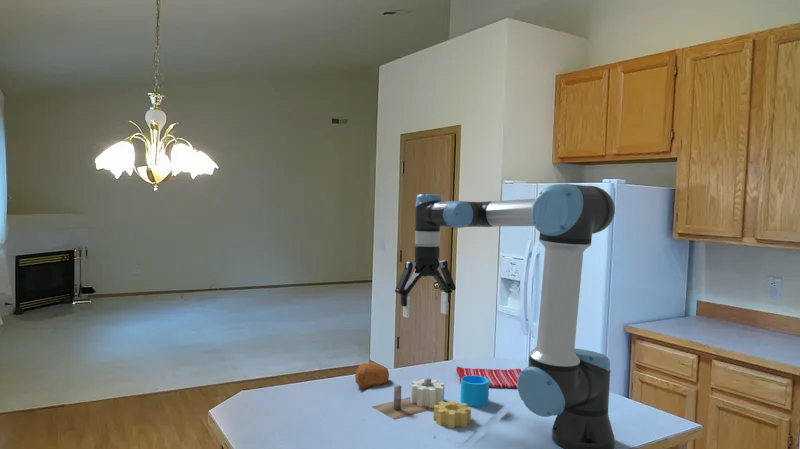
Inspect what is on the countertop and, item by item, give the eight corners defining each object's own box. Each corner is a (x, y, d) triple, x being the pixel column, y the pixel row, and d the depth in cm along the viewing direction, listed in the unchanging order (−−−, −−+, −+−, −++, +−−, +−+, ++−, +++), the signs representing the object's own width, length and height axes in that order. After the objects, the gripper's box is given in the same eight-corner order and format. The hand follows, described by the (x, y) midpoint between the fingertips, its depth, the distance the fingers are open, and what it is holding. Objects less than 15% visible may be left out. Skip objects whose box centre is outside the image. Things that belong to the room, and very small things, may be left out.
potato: (351, 383, 181) (352, 360, 181) (384, 380, 184) (385, 358, 184) (358, 392, 172) (358, 368, 172) (392, 389, 175) (393, 366, 175)
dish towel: (455, 372, 197) (455, 365, 197) (522, 374, 196) (522, 367, 196) (459, 388, 180) (459, 380, 179) (532, 391, 179) (532, 383, 179)
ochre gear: (478, 427, 147) (478, 409, 147) (450, 436, 141) (451, 417, 141) (452, 415, 155) (453, 398, 155) (426, 423, 149) (426, 405, 149)
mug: (490, 412, 158) (491, 384, 158) (462, 412, 158) (462, 384, 158) (483, 398, 170) (484, 371, 170) (457, 397, 170) (458, 371, 170)
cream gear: (449, 399, 163) (450, 383, 163) (434, 410, 155) (435, 392, 155) (420, 393, 168) (420, 377, 168) (404, 403, 160) (404, 386, 160)
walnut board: (452, 408, 160) (453, 381, 160) (394, 424, 148) (395, 395, 147) (427, 397, 169) (428, 371, 169) (371, 411, 156) (372, 384, 156)
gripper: (453, 243, 176) (452, 309, 177) (384, 245, 163) (383, 316, 164) (468, 245, 169) (466, 314, 170) (397, 247, 157) (395, 321, 158)
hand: (425, 315), depth 167 cm, fingers open, 13 cm apart
